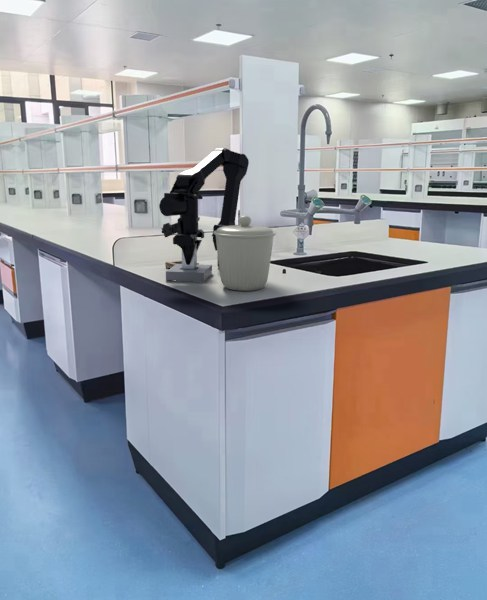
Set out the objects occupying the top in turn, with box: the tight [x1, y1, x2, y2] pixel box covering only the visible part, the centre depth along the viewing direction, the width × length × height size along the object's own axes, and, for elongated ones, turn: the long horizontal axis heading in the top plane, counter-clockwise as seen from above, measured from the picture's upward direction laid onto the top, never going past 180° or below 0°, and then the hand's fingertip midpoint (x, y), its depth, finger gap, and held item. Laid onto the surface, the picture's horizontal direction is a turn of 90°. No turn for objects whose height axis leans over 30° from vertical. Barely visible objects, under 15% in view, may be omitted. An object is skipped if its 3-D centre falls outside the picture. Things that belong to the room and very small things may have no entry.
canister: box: [212, 215, 277, 292], centre depth 153 cm, size 18×18×21 cm
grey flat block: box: [165, 264, 213, 283], centre depth 169 cm, size 12×14×3 cm
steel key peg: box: [181, 245, 198, 270], centre depth 168 cm, size 4×4×9 cm
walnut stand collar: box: [164, 259, 200, 269], centre depth 184 cm, size 8×8×2 cm
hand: (189, 263), depth 168 cm, fingers closed on steel key peg, 4 cm apart
